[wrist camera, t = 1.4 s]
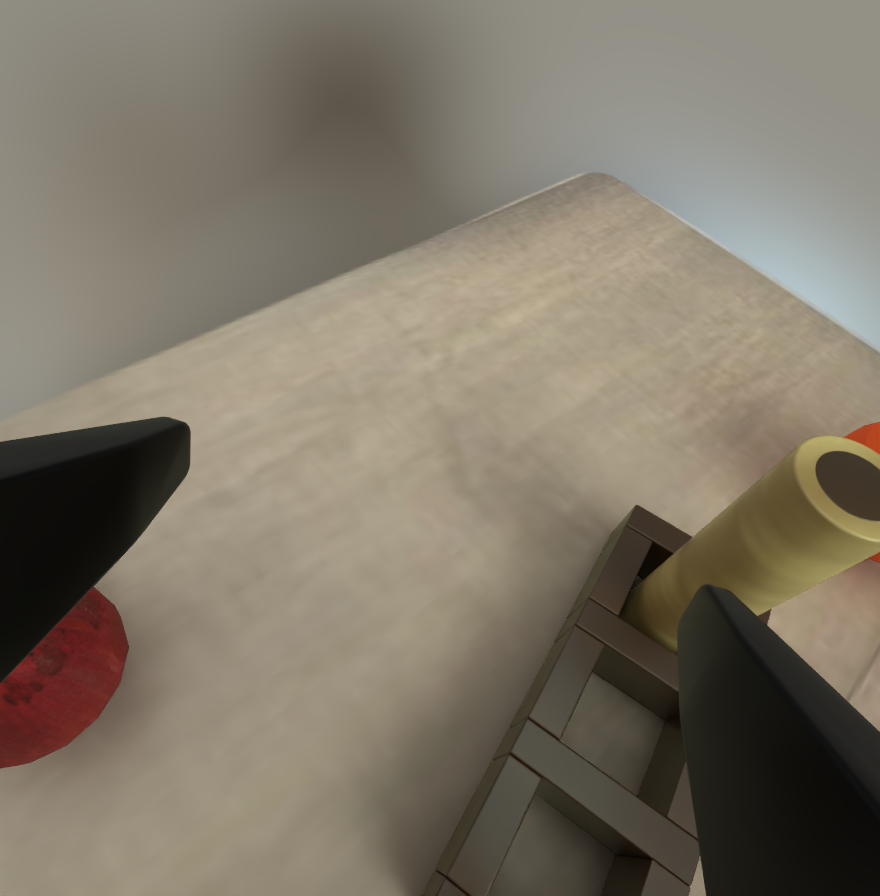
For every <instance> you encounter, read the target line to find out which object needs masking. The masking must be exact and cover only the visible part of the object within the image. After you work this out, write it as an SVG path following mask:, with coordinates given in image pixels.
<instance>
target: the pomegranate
mask: <svg viewBox="0 0 880 896" xmlns="http://www.w3.org/2000/svg"><path fill="white" fill-rule="evenodd" d="M128 649H129V645H128V642H127V638H126V634H125V631H124V627H123V623H122V619H121V616H120V614H119V612H118V611H117V609H116V607H115V605H114V604H112V603H111V602H110V601H109V600H108V599H107V598H106V597H104V596H103V595H102V594H101V593H100V592H99V591H98V590H96V589H95V588H94V587H92V588H91V590H90V591H89V592H88V593H87V594H86V595H85V596H84V597H83V598H82V599H81V600H80V601H79V602H78V603H77V604H76V605H75V606H74V607H73V608H72V609H71V611H70V612H69V613H68V614H67V615H66V616H65V617H64V618H63V619H62V620H61V621H60V622H59V623H58V624H57V625H56V626H55V627H54V628H53V629H52V630H51V632H50V633H49V634H48V635H47V636H46V637H45V638H44V639H43V640H42V641H41V642H40V643H39V644H38V645H37V646H36V647H35V648H34V649H33V650H32V652H31V653H30V654H29V655H28V656H27V657H26V658H25V659H24V660H23V661H22V662H21V663H20V664H19V665H18V666H17V667H16V668H15V669H14V670H13V671H12V673H11V674H10V675H9V676H8V677H7V678H6V679H5V680H4V681H3V682H2V683H1V684H0V768H5V767H12V766H18V765H22V764H27V763H31V762H33V761H35V760H37V759H39V758H41V757H43V756H45V755H47V754H50V753H52V752H54V751H56V750H58V749H60V748H62V747H64V746H66V745H68V744H69V743H70V742H71V741H72V740H73V739H74V738H76V737H77V736H78V735H79V734H80V733H81V732H82V731H83V730H85V729H86V728H87V727H88V726H89V725H90V724H91V723H93V722H94V721H95V720H96V719H97V718H98V717H99V715H100V714H101V712H102V711H103V709H104V707H105V706H106V704H107V703H108V701H109V700H110V698H111V697H112V695H113V693H114V692H115V690H116V689H117V687H118V686H119V684H120V681H121V677H122V673H123V669H124V665H125V661H126V657H127V653H128Z"/></svg>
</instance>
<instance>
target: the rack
mask: <svg viewBox="0 0 880 896" xmlns="http://www.w3.org/2000/svg"><path fill="white" fill-rule="evenodd" d="M691 538H692V537H691V536H690V535H688V534H686V533H685V532H683V531H681V530H679V529H678V528H676V527H674V526H673V525H671V524H669V523H667V522H666V521H664V520H662V519H661V518H659V517H657V516H656V515H654V514H652V513H650V512H649V511H647V510H645V509H644V508H642V507H640V506H638V505H636V506H635V507H634V508H633V509H632V510H631V511H630V512H629V514H628V515H627V516H626V517H625V518H624V519H623V521H622V522H621V523H620V524H619V525H618V526H617V528H616V529H615V530H614V531H613V532H612V533H611V535H610V537H609V539H608V541H607V543H606V545H605V547H604V549H603V552H602V553H601V554H600V556H599V558H598V560H597V562H596V564H595V566H594V568H593V569H592V571H591V573H590V575H589V577H588V579H587V581H586V583H585V585H584V587H583V589H582V590H581V592H580V594H579V596H578V598H577V600H576V602H575V604H574V606H573V608H572V609H571V611H570V613H569V615H568V617H567V620H566V621H565V623H564V625H563V627H562V629H561V631H560V633H559V634H558V636H557V638H556V640H555V642H554V645H553V646H552V648H551V650H550V651H549V653H548V655H547V657H546V659H545V661H544V663H543V665H542V667H541V669H540V670H539V672H538V674H537V676H536V678H535V680H534V682H533V684H532V686H531V688H530V690H529V691H528V693H527V695H526V697H525V699H524V701H523V703H522V705H521V707H520V709H519V710H518V712H517V714H516V716H515V718H514V720H513V722H512V724H511V726H510V729H509V730H508V731H507V733H506V735H505V737H504V739H503V741H502V743H501V745H500V747H499V749H498V750H497V752H496V754H495V756H494V758H493V762H491V764H490V766H489V768H488V770H487V771H486V773H485V775H484V777H483V779H482V781H481V783H480V785H479V787H478V789H477V790H476V792H475V794H474V796H473V798H472V800H471V802H470V804H469V806H468V808H467V810H466V811H465V813H464V815H463V817H462V819H461V821H460V823H459V825H458V827H457V829H456V830H455V832H454V834H453V836H452V838H451V840H450V842H449V844H448V846H447V848H446V850H445V851H444V853H443V855H442V857H441V859H440V861H439V863H438V865H437V867H436V870H437V871H434V872H433V874H432V876H431V878H430V880H429V882H428V884H427V886H426V888H425V889H424V891H423V893H422V895H421V896H487V895H488V893H489V891H490V889H491V887H492V885H493V883H494V880H495V878H496V876H497V874H498V872H499V870H500V868H501V866H502V863H503V861H504V859H505V857H506V855H507V853H508V851H509V848H510V846H511V844H512V842H513V840H514V838H515V836H516V833H517V831H518V829H519V827H520V825H521V823H522V821H523V818H524V816H525V814H526V812H527V810H528V808H529V806H530V803H531V801H532V799H533V797H534V795H535V793H536V794H538V795H539V796H540V797H542V798H543V799H544V800H546V801H547V802H548V803H549V804H551V805H552V806H553V807H555V808H556V809H557V810H559V811H560V812H561V813H563V814H564V815H565V816H567V817H568V818H569V819H571V820H572V821H573V822H575V823H576V824H577V825H579V826H580V827H581V828H583V829H584V830H585V831H587V832H588V833H589V834H591V835H592V836H593V837H595V838H596V839H597V840H599V841H600V842H601V843H603V844H604V845H605V846H607V847H608V848H609V849H611V850H612V851H613V852H615V853H616V854H617V855H616V858H615V860H614V863H613V866H612V869H611V871H610V874H609V877H608V879H607V882H606V885H605V888H604V890H603V893H602V896H688V895H689V892H690V887H689V886H691V884H692V880H693V877H694V873H695V870H696V867H697V863H698V860H699V856H700V850H699V843H698V837H697V830H696V823H695V817H694V810H693V803H692V797H691V790H690V783H689V777H688V770H687V763H686V757H685V750H684V743H683V737H682V729H681V721H680V709H679V684H678V655H677V654H675V653H674V652H672V651H671V650H669V649H667V648H666V647H664V646H663V645H661V644H660V643H658V642H657V641H655V640H653V639H652V638H650V637H649V636H647V635H646V634H644V633H643V632H641V631H639V630H638V629H636V628H635V627H633V626H632V625H630V624H629V623H627V622H625V621H624V620H622V619H621V618H619V617H618V615H619V613H620V611H621V609H622V607H623V605H624V603H625V601H626V598H627V596H628V594H629V592H630V590H631V588H632V586H633V583H634V581H635V579H636V577H637V575H639V576H641V577H643V578H644V579H645V578H646V577H647V576H649V575H650V574H651V573H652V572H653V571H654V570H655V569H657V568H658V567H659V566H660V565H661V564H662V563H664V562H665V561H666V560H667V559H668V558H669V557H670V556H672V555H673V554H674V553H675V552H676V551H677V550H679V549H680V548H681V547H682V546H683V545H684V544H685V543H687V542H688V541H689V540H690V539H691ZM770 611H771V609H770V610H768V611H766V612H764V613H762V614H760V615H758V617H759V618H760V619H761V620H762V621H763V622H764V623H765V624H766V625H767V623H768V620H769V616H770ZM592 671H594V672H595V673H597V674H598V675H600V676H601V677H603V678H604V679H606V680H607V681H609V682H610V683H612V684H613V685H615V686H616V687H617V688H619V689H620V690H622V691H623V692H625V693H626V694H628V695H629V696H631V697H632V698H634V699H635V700H637V701H638V702H640V703H641V704H643V705H644V706H646V707H647V708H649V709H650V710H652V711H653V712H655V713H656V714H657V715H659V716H660V717H662V718H663V719H665V720H666V722H665V724H664V727H663V730H662V733H661V735H660V738H659V741H658V743H657V746H656V749H655V752H654V754H653V757H652V760H651V762H650V765H649V768H648V771H647V773H646V776H645V779H644V782H643V784H642V787H641V790H640V792H639V795H638V797H637V796H636V795H634V794H633V793H632V792H630V791H629V790H628V789H626V788H625V787H623V786H622V785H621V784H619V783H618V782H616V781H615V780H614V779H612V778H611V777H609V776H608V775H607V774H605V773H604V772H602V771H601V770H600V769H598V768H597V767H596V766H594V765H593V764H591V763H590V762H589V761H587V760H586V759H584V758H583V757H582V756H580V755H579V754H577V753H576V752H575V751H573V750H572V749H570V748H569V747H568V746H566V745H565V744H564V743H562V742H561V741H559V740H560V739H561V737H562V735H563V733H564V731H565V729H566V727H567V724H568V722H569V720H570V718H571V716H572V714H573V712H574V709H575V707H576V705H577V703H578V701H579V699H580V697H581V694H582V692H583V690H584V688H585V686H586V684H587V682H588V679H589V677H590V675H591V673H592Z"/></svg>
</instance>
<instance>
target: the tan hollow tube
mask: <svg viewBox="0 0 880 896" xmlns="http://www.w3.org/2000/svg"><path fill="white" fill-rule="evenodd" d="M879 552H880V455H879V454H878V453H876V452H875V451H873V450H872V449H870V448H868V447H866V446H864V445H862V444H860V443H858V442H855V441H853V440H850V439H846V438H843V437H838V436H828V435H827V436H817V437H813V438H810V439H807V440H805V441H804V442H802V443H801V444H800V445H799V446H798V447H796V448H795V449H794V450H793V451H792V452H791V453H789V454H788V455H787V456H786V457H785V458H784V459H783V460H781V461H780V462H779V463H778V464H777V465H776V466H774V467H773V468H772V469H771V470H770V471H769V472H768V473H766V474H765V475H764V476H763V477H762V478H761V479H759V480H758V481H757V482H756V483H755V484H754V485H752V486H751V487H750V488H749V489H748V490H747V491H746V492H744V493H743V494H742V495H741V496H740V497H739V498H737V499H736V500H735V501H734V502H733V503H732V504H731V505H729V506H728V507H727V508H726V509H725V510H724V511H722V512H721V513H720V514H719V515H718V516H717V517H716V518H714V519H713V520H712V521H711V522H710V523H709V524H707V525H706V526H705V527H704V528H703V529H702V530H701V531H699V532H698V533H697V534H696V535H695V536H694V537H692V538H691V539H690V540H689V541H688V542H687V543H685V544H684V545H683V546H682V547H681V548H680V549H679V550H677V551H676V552H675V553H674V554H673V555H672V556H670V557H669V558H668V559H667V560H666V561H665V562H664V563H662V564H661V565H660V566H659V567H658V568H657V569H655V570H654V571H653V572H652V573H651V574H650V575H649V576H647V577H646V578H645V579H644V580H643V581H642V582H640V583H639V584H638V585H637V586H636V587H635V588H634V589H632V590H631V591H630V592H629V594H628V596H627V598H626V601H625V603H624V605H623V607H622V609H621V611H620V613H619V615H618V617H619V618H621V619H622V620H624V621H625V622H627V623H629V624H630V625H632V626H633V627H635V628H636V629H638V630H639V631H641V632H643V633H644V634H646V635H647V636H649V637H650V638H652V639H653V640H655V641H657V642H658V643H660V644H661V645H663V646H664V647H666V648H667V649H669V650H671V651H672V652H674V653H675V654H677V655H678V653H677V626H678V622H679V620H680V618H681V616H682V614H683V612H684V611H685V609H686V607H687V606H688V604H689V603H690V601H691V599H692V598H693V596H694V594H695V593H696V591H697V590H698V588H699V587H700V586H701V585H703V584H711V585H714V586H718V587H721V588H724V589H727V590H729V591H731V592H732V593H733V594H735V595H736V596H737V597H738V598H739V599H740V600H741V601H742V602H743V603H744V604H745V605H746V606H747V607H748V608H749V609H750V610H751V611H753V612H754V613H755V614H756V615H757V616H758V615H760V614H762V613H764V612H766V611H768V610H770V609H772V608H774V607H776V606H778V605H779V604H781V603H783V602H785V601H787V600H789V599H791V598H793V597H795V596H797V595H798V594H800V593H802V592H804V591H806V590H808V589H810V588H812V587H814V586H816V585H818V584H819V583H821V582H823V581H825V580H827V579H829V578H831V577H833V576H835V575H837V574H839V573H840V572H842V571H844V570H846V569H848V568H850V567H852V566H854V565H856V564H858V563H860V562H861V561H863V560H865V559H867V558H869V557H871V556H873V555H875V554H877V553H879Z"/></svg>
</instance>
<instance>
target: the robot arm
mask: <svg viewBox="0 0 880 896" xmlns="http://www.w3.org/2000/svg"><path fill="white" fill-rule="evenodd" d="M190 440H191V432H190V427H189V426H188V425H187V423H185V422H182V421H179V420H176V419H172V418H169V417H158V418H151V419H145V420H138V421H132V422H126V423H119V424H113V425H106V426H100V427H93V428H87V429H80V430H74V431H67V432H61V433H55V434H48V435H42V436H35V437H29V438H22V439H16V440H9V441H3V442H0V684H1V683H2V682H3V681H4V680H5V679H6V678H7V677H8V676H9V675H10V674H11V673H12V671H13V670H14V669H15V668H16V667H17V666H18V665H19V664H20V663H21V662H22V661H23V660H24V659H25V658H26V657H27V656H28V655H29V654H30V653H31V652H32V650H33V649H34V648H35V647H36V646H37V645H38V644H39V643H40V642H41V641H42V640H43V639H44V638H45V637H46V636H47V635H48V634H49V633H50V632H51V630H52V629H53V628H54V627H55V626H56V625H57V624H58V623H59V622H60V621H61V620H62V619H63V618H64V617H65V616H66V615H67V614H68V613H69V612H70V611H71V609H72V608H73V607H74V606H75V605H76V604H77V603H78V602H79V601H80V600H81V599H82V598H83V597H84V596H85V595H86V594H87V593H88V592H89V591H90V590H91V588H92V587H93V586H94V585H95V584H96V583H97V582H98V581H99V580H100V579H101V578H102V577H103V576H104V575H105V574H106V573H107V572H108V571H109V570H110V569H111V567H112V566H113V565H114V564H115V563H116V562H117V561H118V560H119V559H120V558H121V557H122V556H123V555H124V554H125V553H126V552H127V551H128V549H129V548H130V547H131V546H132V545H133V544H134V543H135V542H136V541H137V539H138V538H139V537H140V536H141V534H142V533H143V532H144V531H145V530H146V528H147V527H148V526H149V524H150V523H151V522H152V520H153V519H154V518H155V516H156V515H157V514H158V512H159V511H160V510H161V509H162V507H163V506H164V505H165V503H166V502H167V501H168V499H169V498H170V497H171V495H172V494H173V493H174V491H175V490H176V489H177V487H178V486H179V485H180V484H181V482H182V481H183V480H184V478H185V477H186V475H187V473H188V470H189V467H190ZM677 653H678V684H679V709H680V721H681V729H682V737H683V743H684V750H685V757H686V763H687V770H688V777H689V783H690V790H691V797H692V803H693V810H694V817H695V823H696V830H697V837H698V843H699V850H700V857H701V863H702V870H703V877H704V884H705V890H706V896H880V732H879V731H878V730H877V729H876V728H875V727H874V726H873V725H872V724H871V723H870V722H869V721H868V720H867V719H866V718H864V717H863V716H862V715H861V714H860V713H859V712H858V711H857V710H856V709H855V708H854V707H853V706H852V705H851V704H850V703H849V702H848V701H847V700H845V699H844V698H843V697H842V696H841V695H840V694H839V693H838V692H837V691H836V690H835V689H834V688H833V687H832V686H831V685H830V684H829V683H827V682H826V681H825V680H824V679H823V678H822V677H821V676H820V675H819V674H818V673H817V672H816V671H815V670H814V669H813V668H812V667H811V666H810V665H808V664H807V663H806V662H805V661H804V660H803V659H802V658H801V657H800V656H799V655H798V654H797V653H796V652H795V651H794V650H793V649H792V648H791V647H789V646H788V645H787V644H786V643H785V642H784V641H783V640H782V639H781V638H780V637H779V636H778V635H777V634H776V633H775V632H774V631H773V630H772V629H770V628H769V627H768V626H767V625H766V624H765V623H764V622H763V621H762V620H761V619H760V618H759V617H758V616H757V615H756V614H755V613H754V612H753V611H751V610H750V609H749V608H748V607H747V606H746V605H745V604H744V603H743V602H742V601H741V600H740V599H739V598H738V597H737V596H736V595H735V594H733V593H732V592H731V591H729V590H727V589H724V588H721V587H718V586H714V585H711V584H703V585H701V586H700V587H699V588H698V590H697V591H696V593H695V594H694V596H693V598H692V599H691V601H690V603H689V604H688V606H687V607H686V609H685V611H684V612H683V614H682V616H681V618H680V620H679V622H678V626H677Z"/></svg>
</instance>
